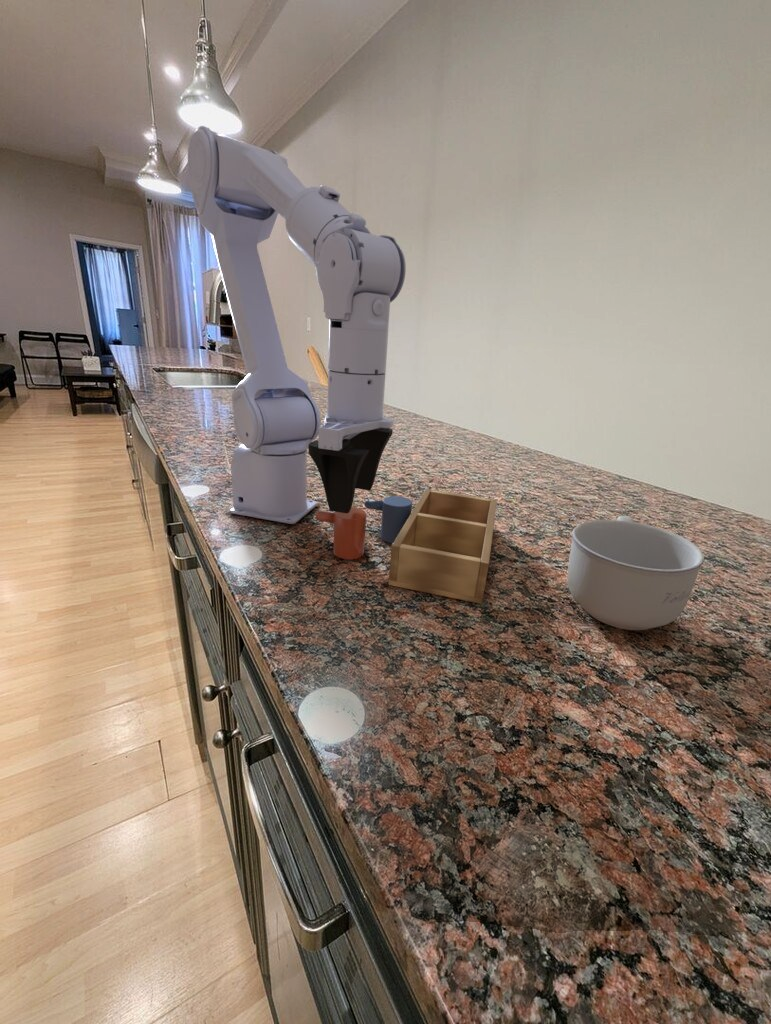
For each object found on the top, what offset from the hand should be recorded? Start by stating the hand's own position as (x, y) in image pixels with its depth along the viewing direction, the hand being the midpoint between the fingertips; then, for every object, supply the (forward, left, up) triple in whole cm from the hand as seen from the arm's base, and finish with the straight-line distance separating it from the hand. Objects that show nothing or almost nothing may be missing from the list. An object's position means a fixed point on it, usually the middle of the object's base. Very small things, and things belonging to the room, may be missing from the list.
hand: (351, 499), depth 50 cm
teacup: (+29, 0, -7) cm, 30 cm away
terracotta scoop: (-1, 0, -7) cm, 7 cm away
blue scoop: (+3, +6, -7) cm, 9 cm away
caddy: (+11, +4, -7) cm, 13 cm away
